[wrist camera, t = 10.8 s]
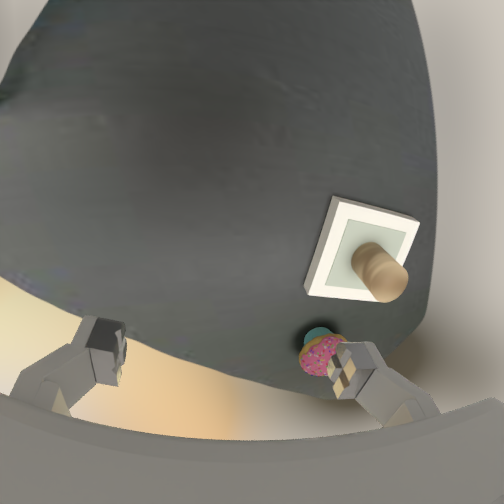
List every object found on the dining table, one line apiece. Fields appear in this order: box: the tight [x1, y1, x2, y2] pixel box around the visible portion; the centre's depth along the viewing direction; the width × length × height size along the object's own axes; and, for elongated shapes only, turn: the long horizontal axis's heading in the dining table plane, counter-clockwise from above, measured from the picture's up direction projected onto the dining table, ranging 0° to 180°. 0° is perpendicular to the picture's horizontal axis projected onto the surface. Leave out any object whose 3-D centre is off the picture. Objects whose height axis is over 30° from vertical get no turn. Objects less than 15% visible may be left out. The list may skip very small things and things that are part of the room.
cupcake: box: [299, 327, 347, 377], centre depth 45 cm, size 9×8×12 cm
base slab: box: [303, 196, 420, 302], centre depth 42 cm, size 14×14×3 cm
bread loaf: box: [351, 242, 408, 302], centre depth 38 cm, size 5×5×7 cm
